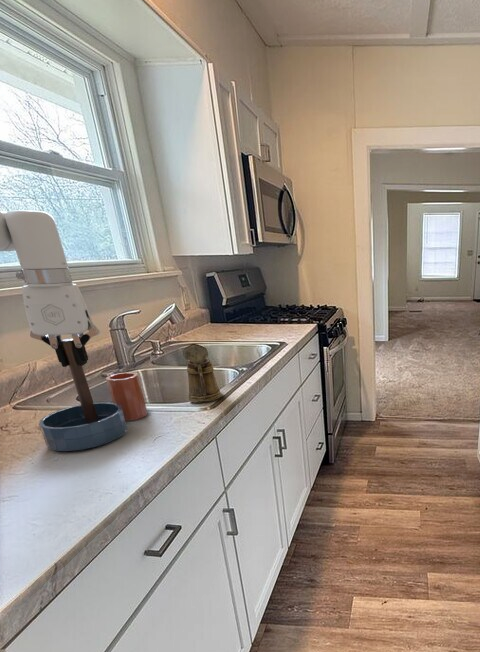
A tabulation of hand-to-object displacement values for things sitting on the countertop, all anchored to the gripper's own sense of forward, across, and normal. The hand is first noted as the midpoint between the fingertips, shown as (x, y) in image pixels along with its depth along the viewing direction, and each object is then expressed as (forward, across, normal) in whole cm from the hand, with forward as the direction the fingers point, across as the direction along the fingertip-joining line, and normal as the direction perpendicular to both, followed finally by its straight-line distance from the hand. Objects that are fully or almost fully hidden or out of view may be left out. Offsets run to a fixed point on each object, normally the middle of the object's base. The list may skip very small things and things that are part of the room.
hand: (75, 364), depth 89 cm
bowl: (+17, 0, -3) cm, 17 cm away
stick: (+15, 0, 0) cm, 15 cm away
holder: (+17, +6, +9) cm, 20 cm away
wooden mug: (+17, +22, +16) cm, 33 cm away
